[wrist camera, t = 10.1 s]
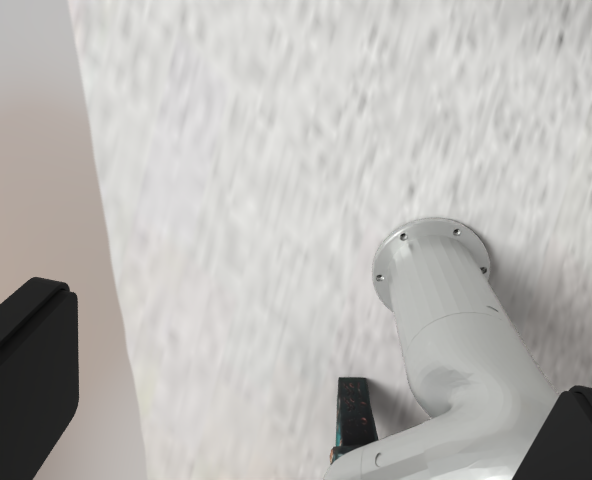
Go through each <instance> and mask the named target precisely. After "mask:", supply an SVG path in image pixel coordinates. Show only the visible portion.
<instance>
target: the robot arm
mask: <svg viewBox="0 0 592 480" xmlns="http://www.w3.org/2000/svg"><path fill="white" fill-rule="evenodd" d="M455 229H458V230H457V231H454V230H455ZM403 233H405V235H403V236H402V235H401V234H403ZM481 267H482V268H481ZM378 275H381V276H378ZM489 275H490V260H489V255H488V252H487V250H486V248H485V246H484V244H483V243H482V241H481V240H480V238H479V237H478V236H477V235H476V234H475V233H474V232H473V231H472V230H471V229H469V228H467V227H466V226H464V225H463V224H461V223H458V222H455V221H453V220H448V219H442V218H427V219H421V220H416V221H413V222H411V223H408V224H405V225H404V226H402V227H400V228H398V229H396V230H395V231H394V232H393V233H392V234H390V235H389V236H388V237H387V238H386V239H385V240H384V242H383V243H382V244H381V245H380V247H379V249H378V251H377V252H376V255H375V258H374V261H373V267H372V278H373V284H374V288H375V291H376V293H377V295H378V297H379V299H380V300H381V301H382V302H383V304H384V305H385V306H386V307H387V308H388V309H390V310H391V311H392V312H394V317H395V322H396V327H397V332H398V337H399V342H400V346H401V351H402V356H403V361H404V366H405V370H406V375H407V380H408V383H409V386H410V389H411V391H412V393H413V395H414V397H415V399H416V400H417V402H418V403H419V405H420V406H421V407H422V408H423V409H424V411H425V412H426V413H427V414H428V415H429V416H430V417H432V418H433V419H430V420H427V421H425V422H423V423H422V424H420V425H417V426H415V427H412V428H409V429H407V430H404V431H401V432H399V433H396V434H393V435H391V436H388V437H385V438H383V439H380V440H377V441H375V442H372V443H370V444H368V445H365V446H362V447H360V448H357V449H355V450H353V451H350V452H348V453H346V454H345V455H343V456H341V457H339V458H338V459H337V460H336V461H334V463H333V464H332V465H331V466H330V467H329V468H328V470H327V472H326V474H325V476H324V479H323V480H592V388H589V387H584V386H574V387H572V388H571V389H570V390H569V391H564V392H563V393H561V395H559V394H558V393H557V391H556V390H555V389H554V388H553V386H552V385H551V384H550V383H549V381H548V380H547V378H546V377H545V376H544V374H543V373H542V371H541V370H540V368H539V367H538V365H537V364H536V362H535V360H534V359H533V357H532V356H531V354H530V353H529V351H528V349H527V348H526V346H525V344H524V343H523V341H522V339H521V338H520V336H519V334H518V332H517V331H516V329H515V327H514V326H513V324H512V322H511V321H510V319H509V317H508V315H507V314H506V312H505V310H504V309H503V307H502V305H501V303H500V302H499V300H498V298H497V297H496V295H495V293H494V292H493V290H492V288H491V286H490V285H489V283H488V280H489ZM78 368H79V367H78V301H77V295H76V294H75V293H74V292H70V289H69V286H68V285H67V284H66V283H64V282H59V281H54V280H49V279H44V278H39V277H33V278H31V279H30V280H28V281H27V282H26V283H25V284H23V286H21V287H20V288H19V289H18V290H16V291H15V292H14V293H13V294H12V295H11V296H9V297H8V298H7V299H6V300H5V301H4V302H2V303H1V304H0V480H33V478H34V477H35V475H36V473H37V472H38V470H39V469H40V467H41V466H42V464H43V463H44V461H45V460H46V458H47V457H48V455H49V454H50V452H51V451H52V449H53V447H54V446H55V444H56V443H57V441H58V440H59V438H60V437H61V435H62V434H63V432H64V431H65V429H66V428H67V426H68V425H69V423H70V421H71V420H72V418H73V416H74V414H75V412H76V409H77V406H78V402H79V369H78Z"/></svg>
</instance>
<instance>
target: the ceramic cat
mask: <svg viewBox="0 0 592 480" xmlns="http://www.w3.org/2000/svg"><path fill="white" fill-rule="evenodd" d="M377 440H378V435H377V431H376V427H375V422H374V418H373V414H372V410H371V406H370V398H369V391H368V385H367V382H366V379H365V378H340V377H339V380H338V396H337V426H336V447H333V449H332V450H331V454H330V462H331V465H332V464H333V463H334V461H336V460H337V459H338V458H339V457H341V456H343V455H345V454H346V453H348V452H350V451H353V450H355V449H357V448H360V447H362V446H365V445H368V444H370V443H372V442H375V441H377Z"/></svg>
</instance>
